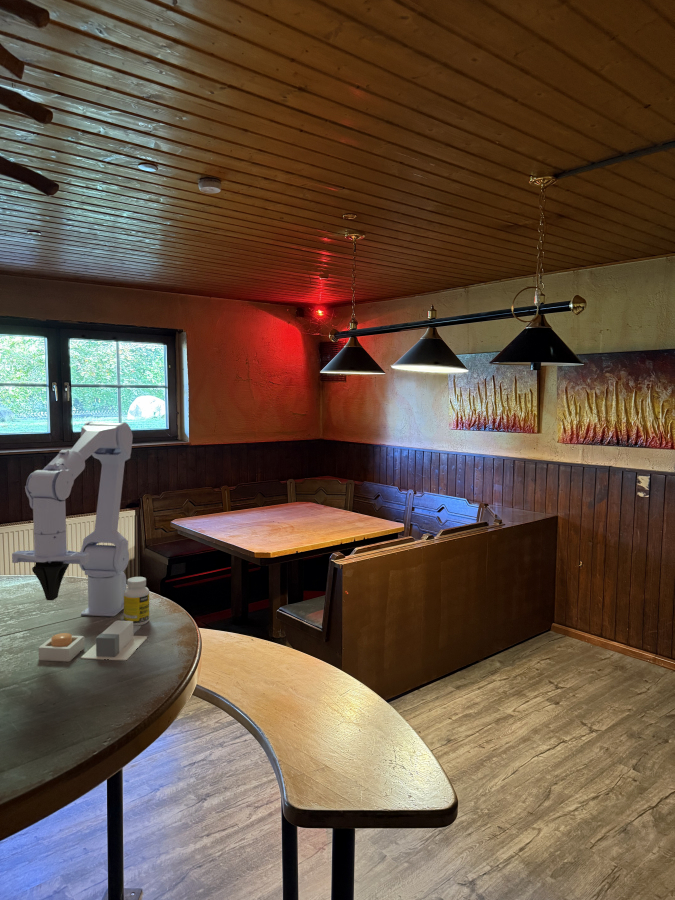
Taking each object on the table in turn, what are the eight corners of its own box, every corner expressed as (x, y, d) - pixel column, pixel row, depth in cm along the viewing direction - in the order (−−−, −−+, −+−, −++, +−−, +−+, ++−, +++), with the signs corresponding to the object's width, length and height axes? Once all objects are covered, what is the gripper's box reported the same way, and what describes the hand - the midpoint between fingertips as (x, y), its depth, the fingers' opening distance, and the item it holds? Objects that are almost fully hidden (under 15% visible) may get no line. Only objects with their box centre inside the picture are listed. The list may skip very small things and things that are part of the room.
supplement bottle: (141, 627, 132) (141, 584, 131) (119, 625, 133) (118, 581, 132) (154, 618, 137) (153, 576, 136) (132, 616, 138) (131, 574, 137)
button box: (55, 646, 121) (54, 634, 121) (84, 648, 121) (84, 636, 121) (38, 660, 115) (38, 647, 115) (69, 661, 115) (69, 648, 115)
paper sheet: (105, 635, 127) (105, 634, 127) (147, 637, 127) (147, 636, 127) (80, 658, 116) (80, 657, 116) (126, 660, 116) (126, 659, 116)
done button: (57, 647, 120) (57, 632, 120) (75, 648, 120) (75, 633, 119) (48, 655, 116) (47, 640, 116) (66, 655, 116) (65, 640, 116)
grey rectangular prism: (116, 637, 126) (116, 619, 126) (133, 637, 126) (133, 620, 125) (96, 656, 117) (95, 637, 117) (114, 656, 117) (114, 638, 116)
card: (113, 626, 132) (113, 624, 132) (140, 627, 132) (140, 625, 132) (105, 633, 128) (105, 631, 128) (133, 634, 128) (133, 633, 128)
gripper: (1, 534, 114) (4, 604, 116) (76, 537, 114) (78, 607, 115) (22, 526, 121) (24, 592, 123) (93, 528, 121) (94, 594, 122)
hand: (52, 598), depth 119 cm, fingers closed
